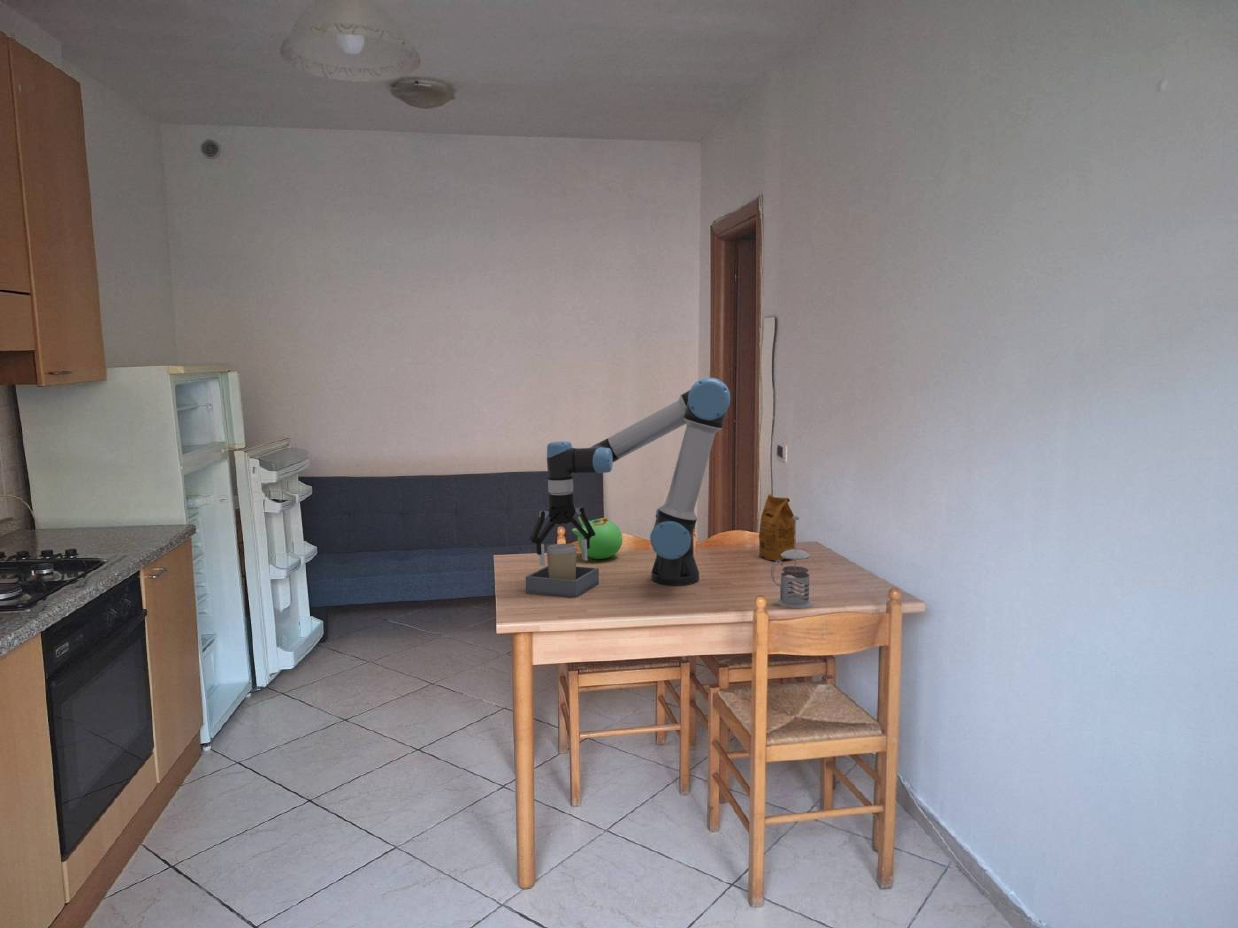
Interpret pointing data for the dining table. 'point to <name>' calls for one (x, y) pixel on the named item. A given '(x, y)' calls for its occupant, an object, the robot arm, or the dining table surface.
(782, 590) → the french press
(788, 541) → the coffee package
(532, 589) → the bin
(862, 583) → the dining table surface
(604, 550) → the green round figure
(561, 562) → the coffee cup
